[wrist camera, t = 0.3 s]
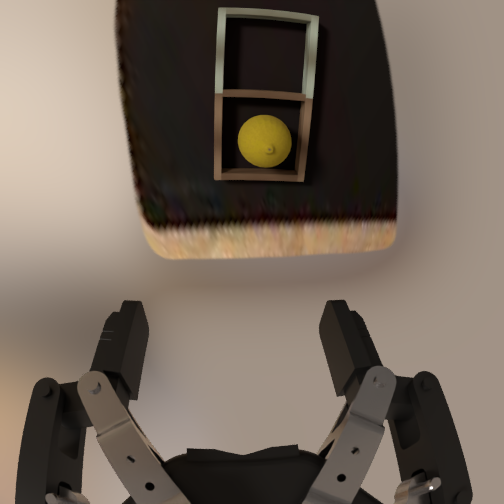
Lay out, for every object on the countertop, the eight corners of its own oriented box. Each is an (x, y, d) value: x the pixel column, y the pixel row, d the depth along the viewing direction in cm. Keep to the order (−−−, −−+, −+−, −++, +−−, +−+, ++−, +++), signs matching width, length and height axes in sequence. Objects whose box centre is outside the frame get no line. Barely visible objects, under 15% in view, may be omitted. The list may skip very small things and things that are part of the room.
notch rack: (219, 11, 23) (218, 7, 21) (313, 19, 23) (318, 16, 22) (215, 174, 34) (214, 179, 33) (299, 176, 35) (303, 181, 33)
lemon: (293, 130, 32) (310, 146, 25) (263, 163, 34) (272, 188, 27) (257, 101, 29) (266, 109, 23) (227, 137, 32) (226, 154, 25)
